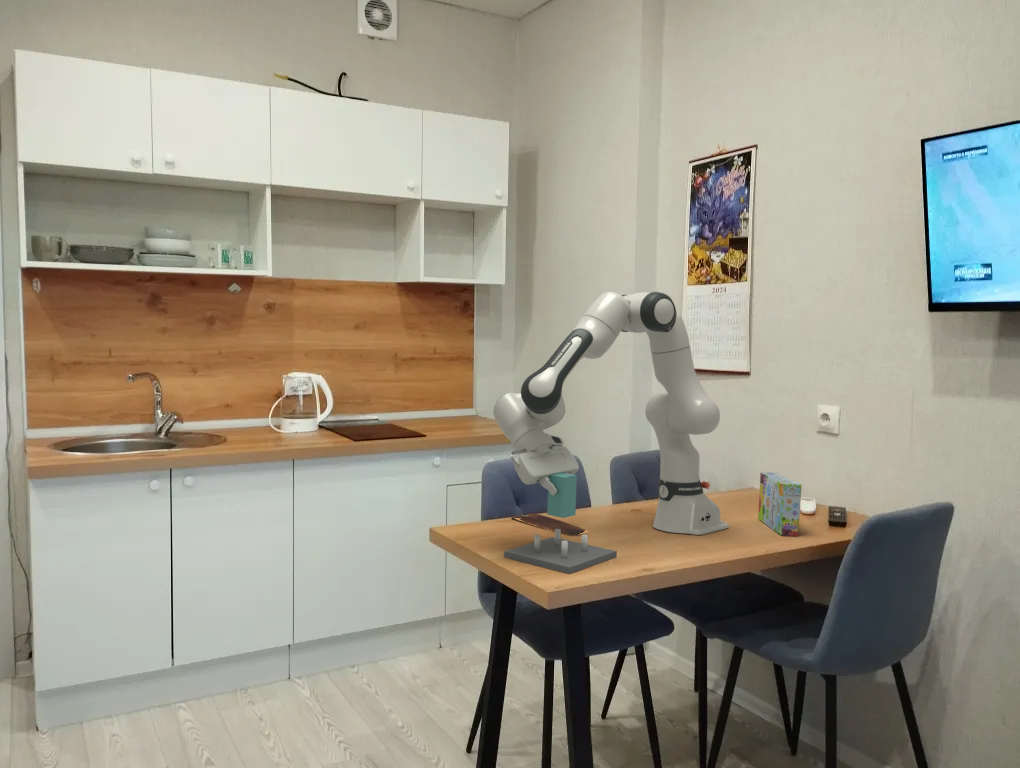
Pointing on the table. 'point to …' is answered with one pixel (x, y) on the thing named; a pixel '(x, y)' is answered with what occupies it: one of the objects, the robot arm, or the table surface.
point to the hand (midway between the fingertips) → (564, 491)
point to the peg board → (560, 553)
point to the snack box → (779, 503)
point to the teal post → (563, 495)
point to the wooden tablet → (551, 524)
